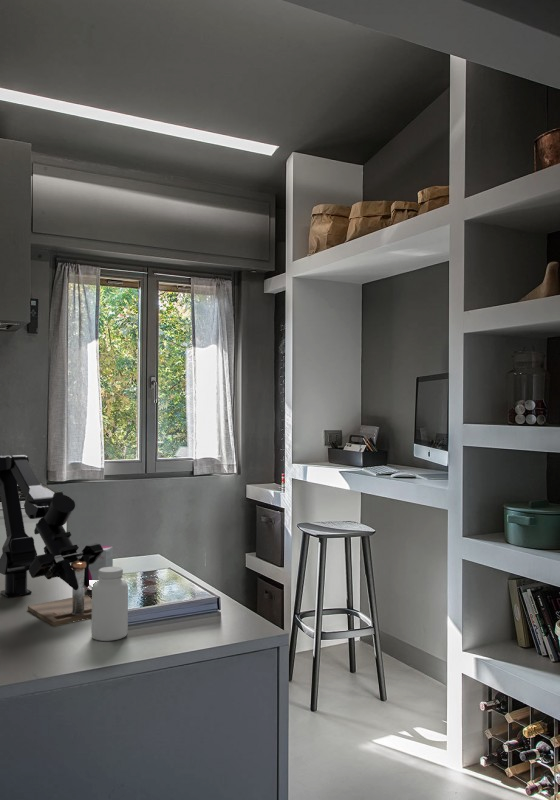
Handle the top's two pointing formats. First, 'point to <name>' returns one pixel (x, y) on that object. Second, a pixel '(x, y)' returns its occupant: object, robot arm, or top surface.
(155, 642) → the top surface
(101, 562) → the supplement box
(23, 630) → the top surface
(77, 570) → the capped cylinder
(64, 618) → the brown wooden flat board
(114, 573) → the pill bottle
